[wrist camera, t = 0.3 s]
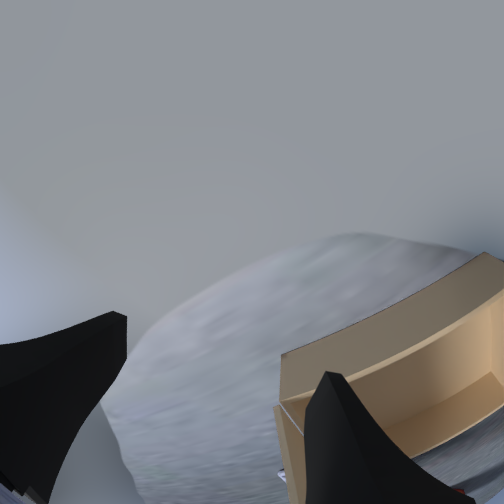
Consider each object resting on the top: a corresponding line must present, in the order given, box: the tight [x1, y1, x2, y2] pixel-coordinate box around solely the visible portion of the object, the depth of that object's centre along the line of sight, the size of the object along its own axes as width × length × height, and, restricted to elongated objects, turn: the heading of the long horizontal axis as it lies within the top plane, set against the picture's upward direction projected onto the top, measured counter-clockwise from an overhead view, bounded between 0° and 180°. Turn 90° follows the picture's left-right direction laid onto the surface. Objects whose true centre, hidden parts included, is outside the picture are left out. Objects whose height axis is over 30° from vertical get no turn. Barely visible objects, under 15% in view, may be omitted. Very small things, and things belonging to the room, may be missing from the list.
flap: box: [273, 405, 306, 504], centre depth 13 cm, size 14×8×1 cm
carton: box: [279, 252, 504, 459], centre depth 18 cm, size 14×18×5 cm
